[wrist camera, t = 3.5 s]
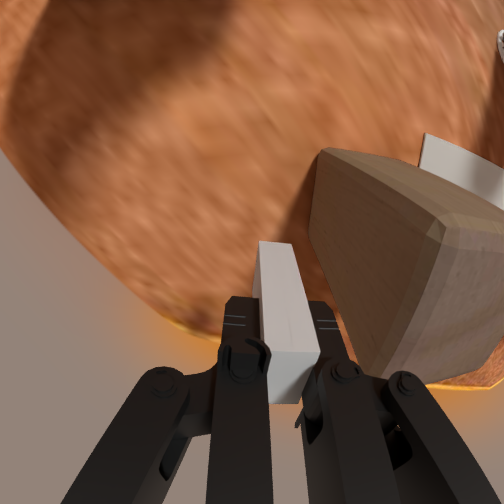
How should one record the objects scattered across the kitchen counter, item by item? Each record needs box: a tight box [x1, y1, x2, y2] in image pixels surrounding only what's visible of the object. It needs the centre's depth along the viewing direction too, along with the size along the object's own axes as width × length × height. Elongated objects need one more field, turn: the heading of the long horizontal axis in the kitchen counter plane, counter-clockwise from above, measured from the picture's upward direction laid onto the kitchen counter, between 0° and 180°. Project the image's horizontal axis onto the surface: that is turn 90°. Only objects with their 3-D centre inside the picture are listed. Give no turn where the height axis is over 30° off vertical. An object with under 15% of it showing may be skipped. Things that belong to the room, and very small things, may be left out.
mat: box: [418, 133, 504, 210], centre depth 28 cm, size 18×20×1 cm
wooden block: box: [308, 148, 504, 385], centre depth 18 cm, size 10×10×20 cm
